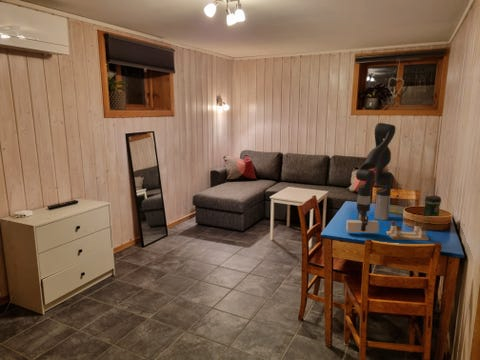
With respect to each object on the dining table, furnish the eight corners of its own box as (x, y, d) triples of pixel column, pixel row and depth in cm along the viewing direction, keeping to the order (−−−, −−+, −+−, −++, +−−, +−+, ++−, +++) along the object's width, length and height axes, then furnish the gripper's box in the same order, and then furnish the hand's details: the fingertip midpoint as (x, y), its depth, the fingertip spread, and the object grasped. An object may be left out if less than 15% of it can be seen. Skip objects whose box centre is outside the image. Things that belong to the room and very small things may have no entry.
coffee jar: (430, 225, 227) (433, 197, 223) (420, 221, 234) (422, 195, 231) (440, 223, 230) (443, 196, 227) (430, 220, 237) (433, 194, 234)
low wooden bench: (386, 233, 210) (387, 220, 209) (419, 234, 209) (421, 221, 208) (393, 239, 199) (394, 226, 198) (428, 240, 198) (429, 227, 197)
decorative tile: (408, 217, 245) (409, 212, 244) (379, 212, 257) (380, 208, 257) (415, 212, 259) (415, 207, 258) (387, 207, 272) (387, 203, 271)
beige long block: (346, 229, 211) (346, 219, 210) (376, 230, 209) (376, 220, 208) (347, 231, 206) (348, 222, 205) (378, 232, 204) (379, 223, 203)
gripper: (354, 199, 211) (352, 225, 215) (360, 205, 197) (358, 233, 201) (366, 199, 211) (364, 225, 214) (373, 205, 197) (371, 233, 200)
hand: (361, 229), depth 207 cm, fingers closed on beige long block, 5 cm apart
